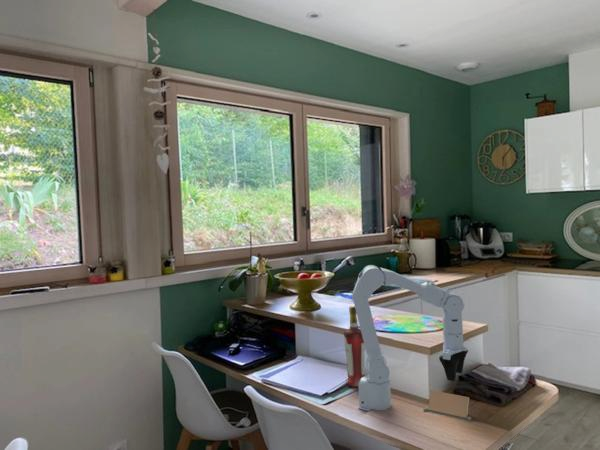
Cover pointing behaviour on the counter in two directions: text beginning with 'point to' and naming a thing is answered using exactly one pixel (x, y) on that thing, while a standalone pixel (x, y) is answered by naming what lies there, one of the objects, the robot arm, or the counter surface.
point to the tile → (448, 404)
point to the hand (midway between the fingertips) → (454, 376)
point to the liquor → (354, 350)
